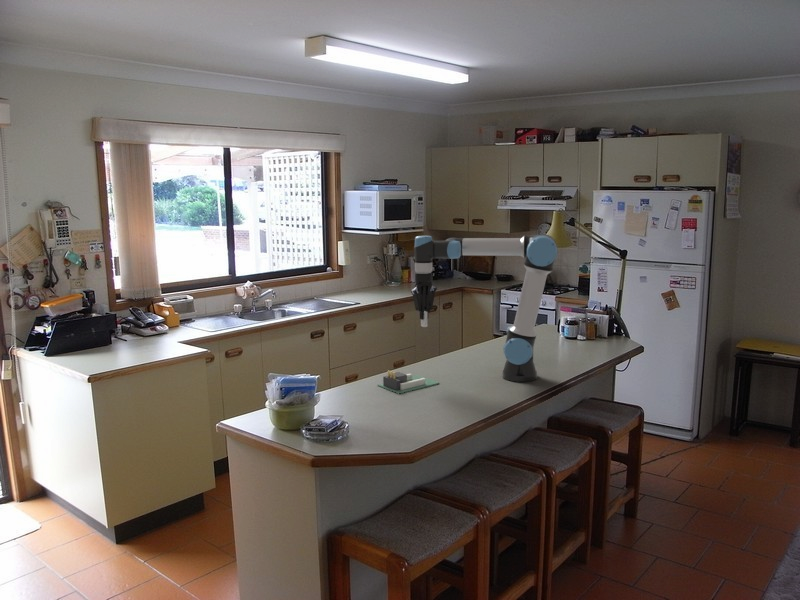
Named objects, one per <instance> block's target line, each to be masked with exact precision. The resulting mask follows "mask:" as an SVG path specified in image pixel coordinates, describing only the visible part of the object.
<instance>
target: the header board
mask: <svg viewBox="0 0 800 600" xmlns="http://www.w3.org/2000/svg"><path fill="white" fill-rule="evenodd" d="M405 374H406V375H407V382H404V383H400V380H398V379H396V376H395V371H392V370H390V369H389V370H387V375H385V376H383V377H382V378H383V379H382V383H378V384H377V387H379V386H380V388H382V387H383V388H382V389H384V388H385V390H387V389H388V390H387V391H389V390H390V392H392V391H393V392H392V393H395V392H396V393H395V394H397V393H401V394H404V392H405V393H409V392H412V390H413V391H417V390H420V389H425V388H429V387H433V386H437V385H440V382H439V381H436V380H432V379H430V378H427V377H424V376H422V375H418V374H417V375H413V374H412V373H405ZM390 375H391V377H390ZM408 391H409V392H408Z"/></svg>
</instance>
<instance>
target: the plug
mask: <svg viewBox="0 0 800 600" xmlns="http://www.w3.org/2000/svg"><path fill="white" fill-rule="evenodd" d="M394 372H395V371H394ZM406 374H407V373H403V372H400V371H396V372H395V376H396V379H398V380H400V383H404V382H407V375H406ZM390 377H391V375H390Z"/></svg>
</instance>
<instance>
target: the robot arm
mask: <svg viewBox="0 0 800 600" xmlns="http://www.w3.org/2000/svg"><path fill="white" fill-rule="evenodd" d="M557 245H558V244H557V242H556V240H555V239H554V237H552V236H551V235H549V234H547V233H546V234H545V233H540V234H539V233H538V234H533V235H522V237H508V238H507V237H504V238H503V237H500V238H499V237H494V238H493V237H490V238H489V237H484V238H483V237H474V238H473V237H471V238H470V237H468V238H467V237H464V238H462V237H459V238H458V237H448V238H446V239H445V240H433V236H431V235H417V236H415V237H414V247H413V250H414V272H415V273H414V281H415V286H414V288H412V289H410V293H411V294H412V299H413V304H414V309H415V311H417V312H419V320H420V327H422V328H427V327H428V320H429V313H430V312H431V310H433V306H434V301H435V297H436V291H437V290H438V288H437V286H434V285H433V269H434V268H433V259H448V260H450V259H451V260H453V259H455V260H457V259H460V257H461V256H481V257H482V256H487V257H488V256H489V257H490V256H492V257H493V256H496V257H498V256H503V257H504V256H505V257H506V256H508V257H512V256H514V257H515V256H516V257H517V256H519V257H521V258H523V259H524V263H523V266H524V268H525V270H526V271H525V273H524V274H525V275H524V279H523V283H522V288H521V291H520V296H519V301H518V305H517V308H516V313H515V317H514V321H513V324H512V325H511V326H510V325H509V326H508V327H507V328H506V340H505V344H504V346H503V355H504V357H505V359H506V360H505V363H504V367H503V369H502V374H501V375H502V376H501V377H502V378H503V379H504V380H506V381H509V380H510V382H515V381H516V382H517V383H519V382H520V383H525V382H533V381H536V380H537V379H538V372H537V370H536V366H535V363H534V346H535V342H536V338H537V333H536V331H535V327H536V326H535V325H536V323H537V319H538V318H537V317H538V314H539V311H540V305H541V302H542V298H543V293H544V289H545V286H546V281H547V278H548V275H549V274H550V273H552V272H553V269H554V265H555V262H556V261H555V260H556V258H557V255H558V246H557ZM535 379H536V380H535Z"/></svg>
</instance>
